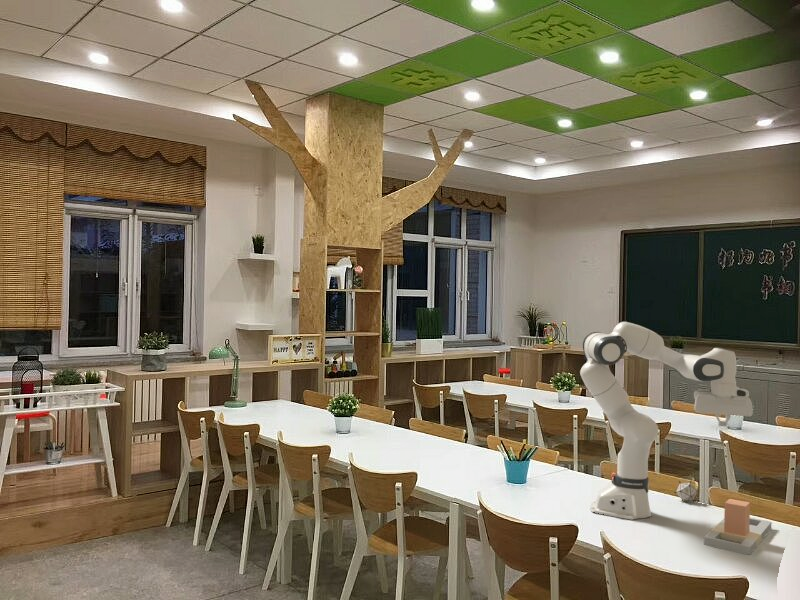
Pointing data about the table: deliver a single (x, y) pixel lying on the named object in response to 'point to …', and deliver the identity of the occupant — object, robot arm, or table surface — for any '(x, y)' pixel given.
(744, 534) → the block
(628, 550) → the table surface
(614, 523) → the table surface
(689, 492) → the grey faceted ball
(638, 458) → the robot arm
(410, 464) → the table surface
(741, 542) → the box
